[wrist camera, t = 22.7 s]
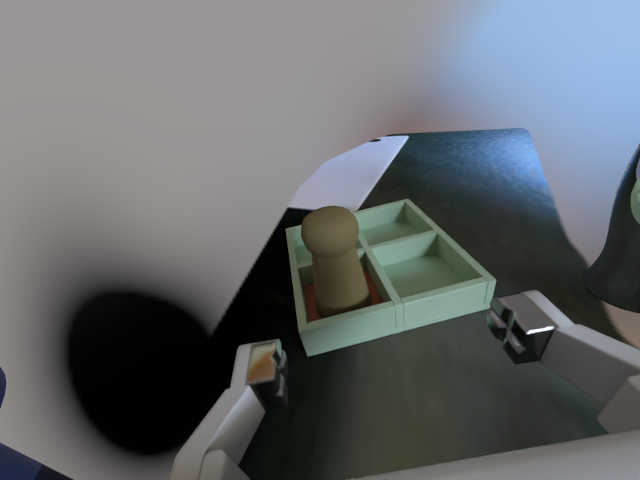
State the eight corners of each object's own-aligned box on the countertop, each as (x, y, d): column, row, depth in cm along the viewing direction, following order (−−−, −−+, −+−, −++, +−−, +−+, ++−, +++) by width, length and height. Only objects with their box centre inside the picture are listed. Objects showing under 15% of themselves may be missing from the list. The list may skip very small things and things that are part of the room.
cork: (351, 275, 33) (338, 191, 27) (383, 306, 28) (376, 213, 22) (306, 298, 31) (281, 214, 25) (333, 335, 26) (310, 243, 20)
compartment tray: (307, 357, 26) (298, 331, 24) (291, 249, 42) (285, 228, 39) (490, 308, 27) (496, 279, 25) (408, 220, 42) (408, 198, 40)
